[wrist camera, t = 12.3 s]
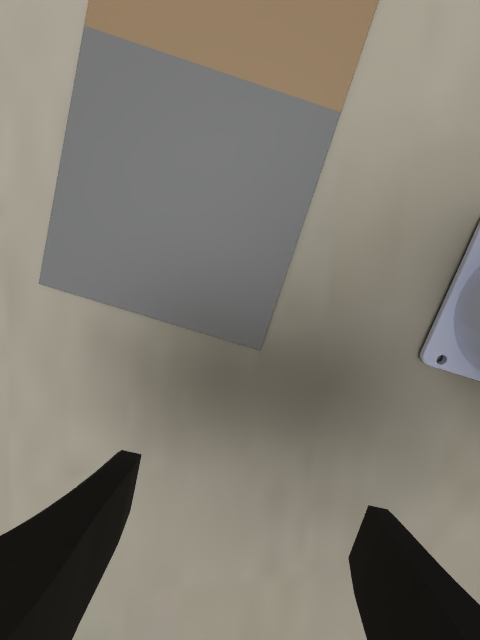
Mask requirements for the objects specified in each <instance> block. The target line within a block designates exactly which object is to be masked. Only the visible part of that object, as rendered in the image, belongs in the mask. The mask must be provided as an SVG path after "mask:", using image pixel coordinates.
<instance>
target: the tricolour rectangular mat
mask: <svg viewBox="0 0 480 640" xmlns="http://www.w3.org/2000/svg"><path fill="white" fill-rule="evenodd" d="M378 1H379V0H89V1H88V7H87V12H86V18H85V24H84V30H83V35H82V41H81V47H80V52H79V58H78V64H77V69H76V75H75V81H74V86H73V92H72V98H71V103H70V109H69V115H68V120H67V126H66V132H65V137H64V143H63V149H62V154H61V160H60V166H59V171H58V177H57V183H56V188H55V194H54V200H53V205H52V211H51V217H50V223H49V228H48V234H47V240H46V245H45V251H44V257H43V262H42V268H41V274H40V279H39V284H41V285H44V286H48V287H51V288H54V289H58V290H61V291H64V292H68V293H71V294H74V295H78V296H81V297H84V298H88V299H91V300H94V301H97V302H101V303H104V304H107V305H111V306H114V307H117V308H121V309H124V310H127V311H131V312H134V313H137V314H141V315H144V316H147V317H151V318H154V319H157V320H160V321H164V322H167V323H170V324H174V325H177V326H180V327H184V328H187V329H190V330H194V331H197V332H200V333H204V334H207V335H210V336H214V337H217V338H220V339H223V340H227V341H230V342H233V343H237V344H240V345H243V346H247V347H250V348H253V349H257V350H260V349H261V346H262V343H263V340H264V337H265V335H266V332H267V329H268V326H269V323H270V320H271V317H272V314H273V311H274V308H275V305H276V302H277V299H278V296H279V293H280V290H281V287H282V284H283V281H284V278H285V275H286V273H287V270H288V267H289V264H290V261H291V258H292V255H293V252H294V249H295V246H296V243H297V240H298V237H299V234H300V231H301V228H302V225H303V222H304V219H305V216H306V214H307V211H308V208H309V205H310V202H311V199H312V196H313V193H314V190H315V187H316V184H317V181H318V178H319V175H320V172H321V169H322V166H323V163H324V160H325V157H326V155H327V152H328V149H329V146H330V143H331V140H332V137H333V134H334V131H335V128H336V125H337V122H338V119H339V116H340V113H341V110H342V107H343V104H344V101H345V98H346V96H347V93H348V90H349V87H350V84H351V81H352V78H353V75H354V72H355V69H356V66H357V63H358V60H359V57H360V54H361V51H362V48H363V45H364V42H365V39H366V37H367V34H368V31H369V28H370V25H371V22H372V19H373V16H374V13H375V10H376V7H377V4H378Z"/></svg>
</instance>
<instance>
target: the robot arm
mask: <svg viewBox="0 0 480 640" xmlns="http://www.w3.org/2000/svg"><path fill="white" fill-rule="evenodd" d="M440 355H443V359H442V360H441V361H440V362H437V361H436V360H437V358H438V356H440ZM420 359H421V360H422V362H423V363H425V364H426V365H428V366H432V367H435V368H438V369H441V370H445V371H448V372H451V373H454V374H458V375H461V376H464V377H467V378H471V379H474V380H477V381H480V222H479V224H478V226H477V228H476V231H475V233H474V235H473V237H472V239H471V242H470V244H469V246H468V248H467V251H466V253H465V255H464V257H463V259H462V262H461V264H460V266H459V268H458V270H457V273H456V275H455V277H454V279H453V282H452V284H451V286H450V288H449V290H448V293H447V295H446V297H445V299H444V301H443V304H442V306H441V308H440V310H439V313H438V315H437V317H436V319H435V321H434V324H433V326H432V328H431V330H430V332H429V335H428V337H427V339H426V341H425V344H424V346H423V348H422V350H421V353H420ZM140 459H141V454H137V453H132V452H128V451H123V450H121V451H120V452H118V453H117V454H116V455H114V456H113V457H112V458H111V459H110V460H109V461H108V462H107V463H105V464H104V465H103V466H102V467H101V468H100V469H98V470H97V471H96V472H95V473H94V474H92V475H91V476H90V477H89V478H87V479H86V480H85V481H83V482H82V483H81V484H80V485H78V486H77V487H76V488H74V489H73V490H72V491H70V492H69V493H68V494H66V495H65V496H63V497H62V498H61V499H59V500H58V501H56V502H55V503H53V504H52V505H51V506H49V507H48V508H46V509H45V510H43V511H42V512H40V513H38V514H37V515H35V516H34V517H32V518H31V519H29V520H27V521H26V522H24V523H22V524H20V525H19V526H17V527H15V528H14V529H12V530H10V531H8V532H7V533H5V534H3V535H1V536H0V640H72V638H73V636H74V634H75V632H76V630H77V627H78V625H79V623H80V621H81V619H82V617H83V615H84V613H85V611H86V609H87V606H88V604H89V602H90V600H91V598H92V596H93V594H94V592H95V590H96V588H97V586H98V584H99V582H100V580H101V578H102V576H103V574H104V572H105V570H106V568H107V566H108V564H109V561H110V559H111V557H112V555H113V553H114V551H115V549H116V547H117V545H118V543H119V540H120V537H121V535H122V532H123V529H124V526H125V524H126V521H127V518H128V515H129V513H130V510H131V505H132V500H133V495H134V490H135V484H136V479H137V474H138V469H139V464H140ZM349 564H350V571H351V577H352V583H353V589H354V594H355V598H356V602H357V605H358V609H359V613H360V616H361V620H362V623H363V627H364V630H365V634H366V637H367V640H480V605H479V604H478V603H477V602H476V601H475V600H474V599H473V598H472V597H471V596H470V595H469V594H468V593H467V592H466V591H465V590H464V589H463V588H462V587H461V586H460V585H459V584H458V583H457V582H456V581H455V580H454V579H453V578H452V577H451V576H450V575H449V574H448V573H447V572H446V571H445V570H444V569H443V568H442V567H441V566H440V565H439V563H438V562H437V561H436V560H435V559H434V558H433V557H432V556H431V555H430V554H429V553H428V552H427V551H426V550H425V548H424V547H423V546H422V545H421V544H420V543H419V542H418V541H417V540H416V539H415V538H414V537H413V535H412V534H411V533H410V532H409V531H408V530H407V529H406V528H405V527H404V526H403V525H402V524H401V523H400V522H399V521H398V519H397V518H396V517H395V516H394V515H393V514H392V513H391V512H389V511H388V510H387V509H383V508H378V507H374V506H369V505H368V508H367V511H366V513H365V516H364V519H363V521H362V524H361V526H360V529H359V532H358V534H357V537H356V539H355V542H354V545H353V547H352V550H351V553H350V555H349Z"/></svg>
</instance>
